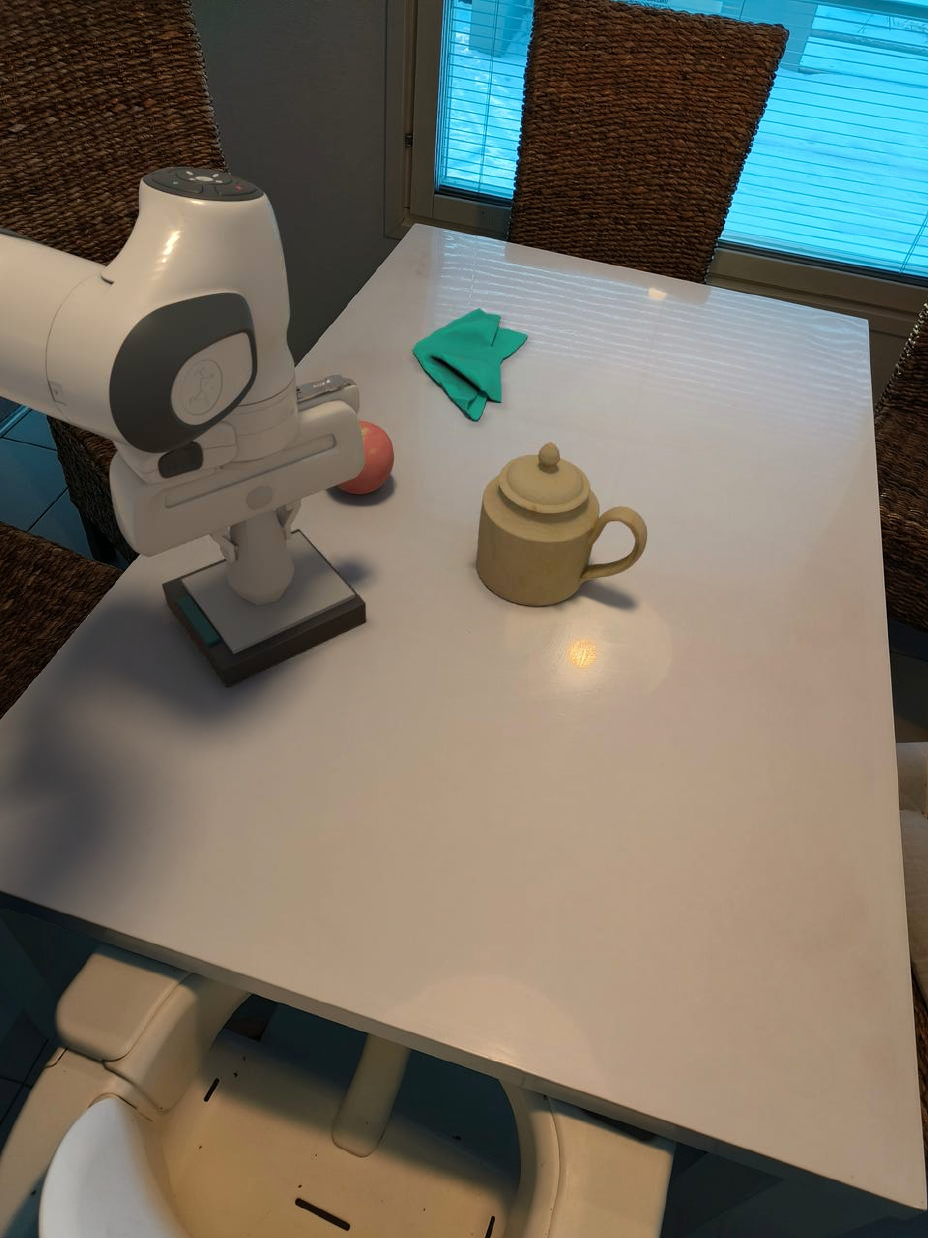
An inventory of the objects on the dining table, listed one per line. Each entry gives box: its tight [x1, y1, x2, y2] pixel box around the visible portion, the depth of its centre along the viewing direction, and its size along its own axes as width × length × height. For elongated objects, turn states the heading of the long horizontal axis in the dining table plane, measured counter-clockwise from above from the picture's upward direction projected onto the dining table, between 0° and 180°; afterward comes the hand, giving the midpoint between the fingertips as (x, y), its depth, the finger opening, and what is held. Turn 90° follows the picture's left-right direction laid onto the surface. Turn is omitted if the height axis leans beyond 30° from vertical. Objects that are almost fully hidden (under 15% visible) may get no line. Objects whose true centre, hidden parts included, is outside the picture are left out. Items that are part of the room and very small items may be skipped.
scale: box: [161, 528, 367, 689], centre depth 77 cm, size 14×12×3 cm
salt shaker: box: [226, 486, 294, 606], centre depth 71 cm, size 6×6×13 cm
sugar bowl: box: [475, 441, 648, 607], centre depth 79 cm, size 15×11×15 cm
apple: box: [335, 419, 395, 495], centre depth 89 cm, size 7×7×8 cm
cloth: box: [412, 307, 529, 421], centre depth 110 cm, size 26×14×2 cm, turn 164°
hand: (256, 547), depth 72 cm, fingers closed on salt shaker, 3 cm apart
